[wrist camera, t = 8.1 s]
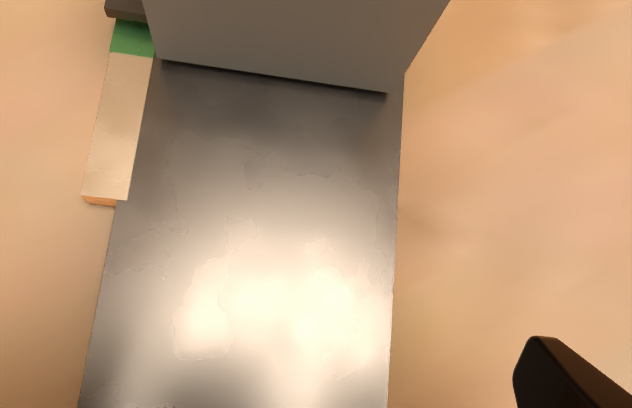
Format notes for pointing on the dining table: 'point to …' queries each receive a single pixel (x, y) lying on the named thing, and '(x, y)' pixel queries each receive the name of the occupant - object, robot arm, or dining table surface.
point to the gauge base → (240, 237)
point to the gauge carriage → (291, 36)
